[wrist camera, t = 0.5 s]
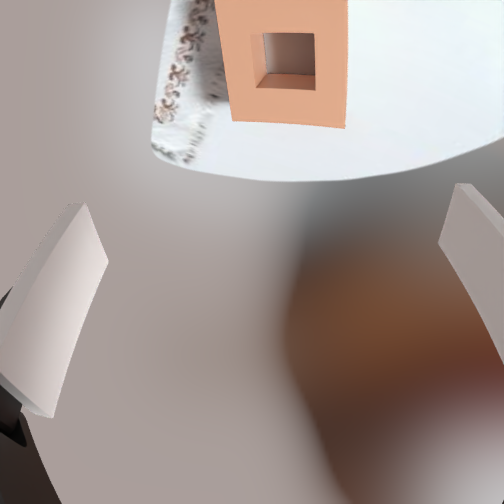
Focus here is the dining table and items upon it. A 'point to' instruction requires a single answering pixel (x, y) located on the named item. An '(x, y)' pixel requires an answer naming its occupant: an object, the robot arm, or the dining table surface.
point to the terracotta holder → (285, 85)
